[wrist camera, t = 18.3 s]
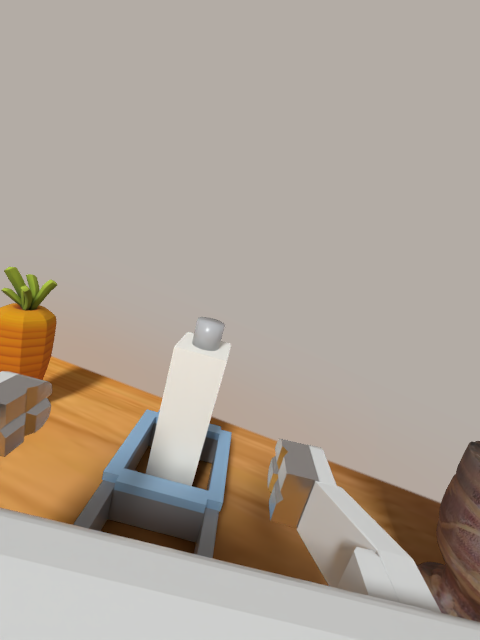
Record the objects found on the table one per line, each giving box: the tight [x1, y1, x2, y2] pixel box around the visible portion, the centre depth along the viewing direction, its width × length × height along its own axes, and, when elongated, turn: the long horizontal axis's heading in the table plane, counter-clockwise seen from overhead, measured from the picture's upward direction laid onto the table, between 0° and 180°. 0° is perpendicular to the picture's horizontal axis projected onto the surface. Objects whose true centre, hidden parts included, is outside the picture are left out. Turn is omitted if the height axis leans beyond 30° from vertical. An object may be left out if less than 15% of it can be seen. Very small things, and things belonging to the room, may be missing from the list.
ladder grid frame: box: [73, 410, 231, 558], centre depth 16 cm, size 9×25×4 cm, turn 177°
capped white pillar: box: [146, 317, 231, 486], centre depth 23 cm, size 4×4×16 cm
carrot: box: [0, 267, 57, 380], centre depth 26 cm, size 5×5×15 cm
